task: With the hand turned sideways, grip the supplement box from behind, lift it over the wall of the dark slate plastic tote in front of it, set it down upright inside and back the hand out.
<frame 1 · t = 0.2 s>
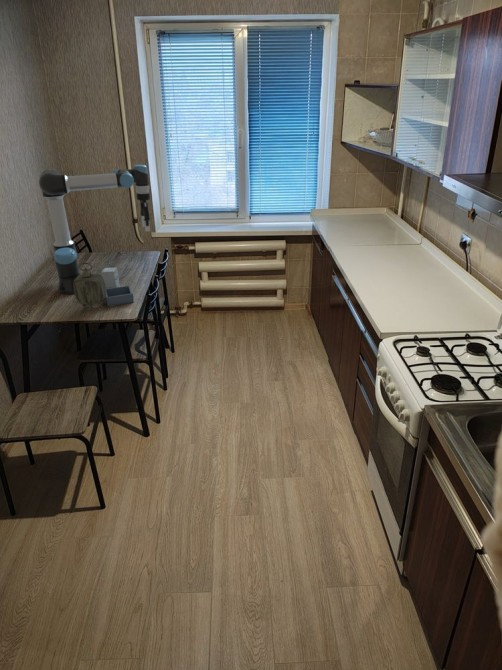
hand: (146, 229, 296), 27 cm above the table, tool pointing down, fingers open, 13 cm apart
tote: (119, 299, 268), on the table
tabletop clock: (93, 308, 259), on the table
supplement box: (112, 290, 282), on the table
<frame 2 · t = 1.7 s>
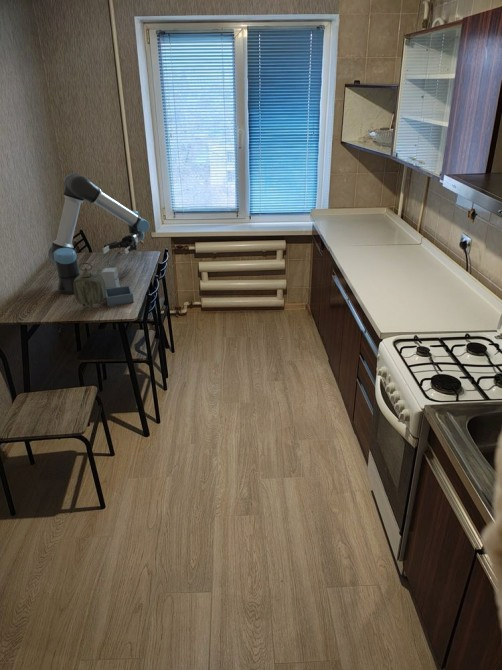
hand: (114, 251, 281), 20 cm above the table, tool horizontal, fingers open, 13 cm apart
nothing on the table moved.
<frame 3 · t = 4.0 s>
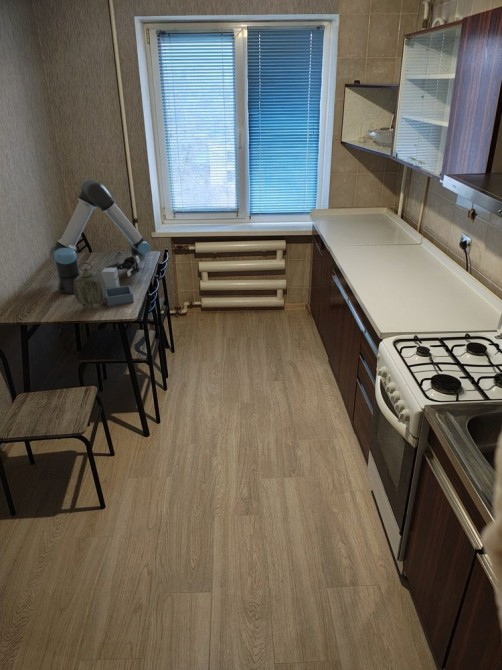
hand: (116, 273, 284), 7 cm above the table, tool horizontal, fingers open, 13 cm apart
nothing on the table moved.
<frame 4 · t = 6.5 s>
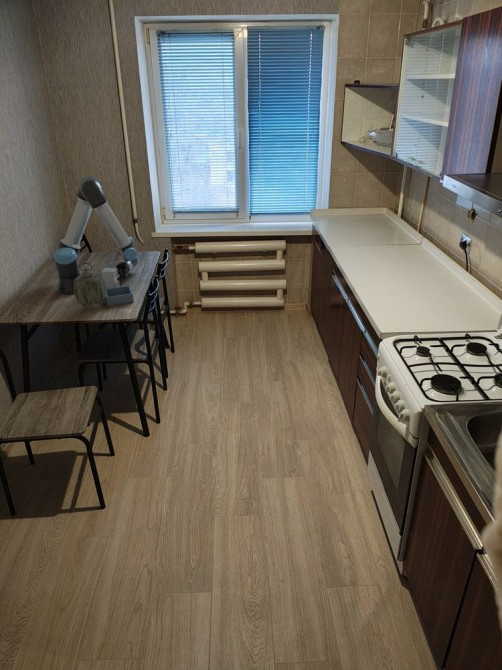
hand: (106, 281, 274), 8 cm above the table, tool horizontal, fingers closed on supplement box, 8 cm apart
supplement box: (112, 290, 281), on the table, touching gripper
everything else where it was.
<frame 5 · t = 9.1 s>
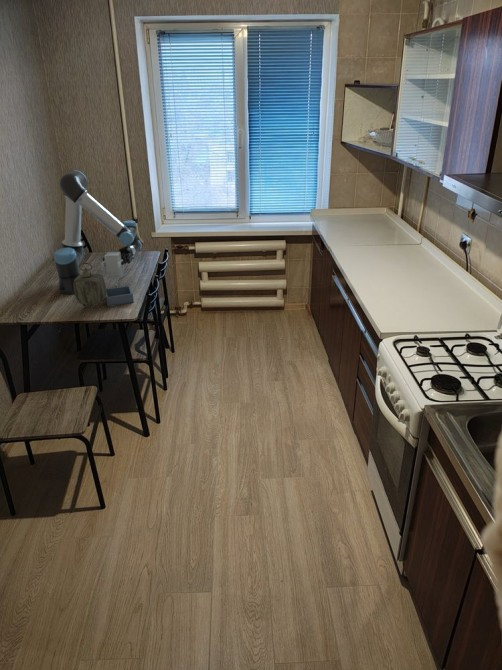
hand: (110, 265, 262), 19 cm above the table, tool horizontal, fingers closed on supplement box, 8 cm apart
supplement box: (116, 276, 270), point 11 cm above the table, touching gripper
everything else where it was.
when the fingers open (10 cm above the table, at t = 11.7 s): supplement box drops 2 cm, resting on tote.
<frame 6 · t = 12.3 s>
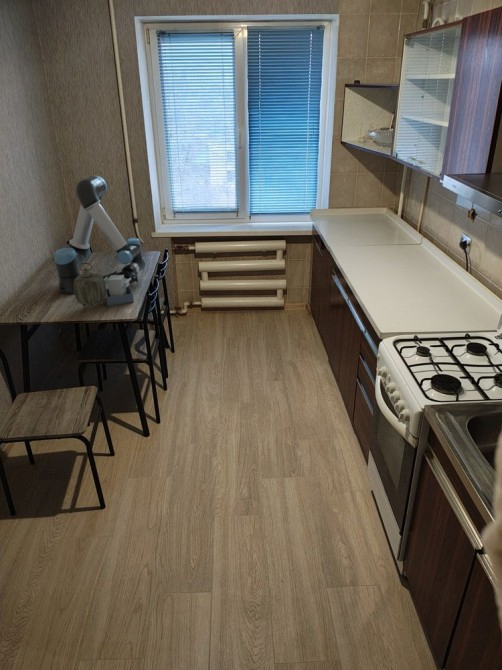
hand: (114, 284, 260), 10 cm above the table, tool horizontal, fingers open, 13 cm apart
supplement box: (119, 299, 268), resting on tote
everything else where it was.
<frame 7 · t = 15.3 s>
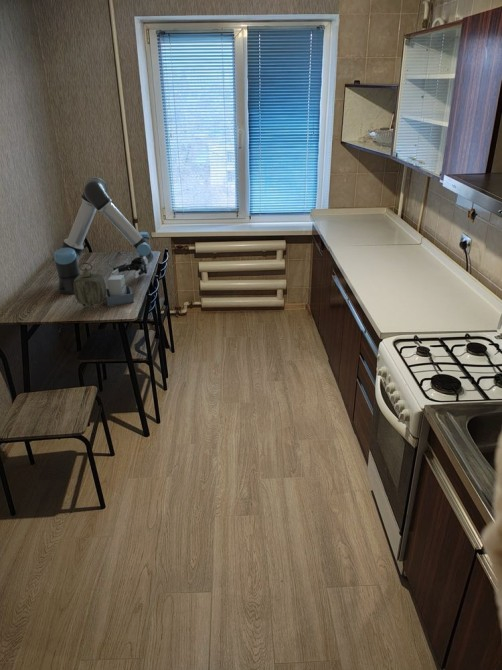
hand: (124, 275, 272), 11 cm above the table, tool horizontal, fingers open, 13 cm apart
nothing on the table moved.
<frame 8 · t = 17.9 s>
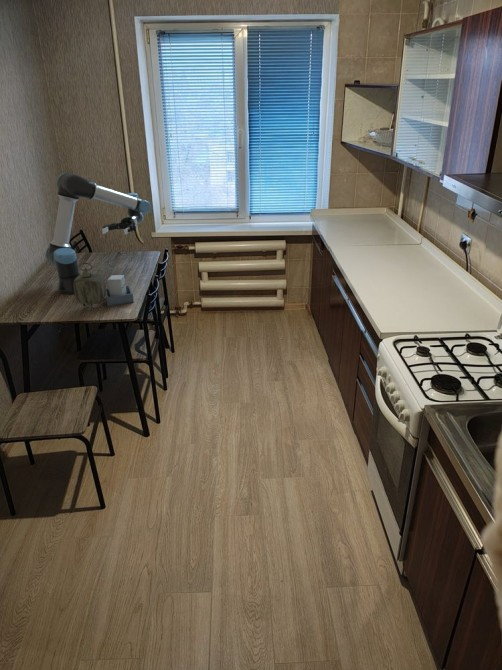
hand: (113, 232, 281), 30 cm above the table, tool horizontal, fingers open, 13 cm apart
nothing on the table moved.
at the end: supplement box inside the target area on the tote (0.2 cm from its centre), point 0.4 cm above the tote's base; supplement box tilted 0°; the gripper is holding nothing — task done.
